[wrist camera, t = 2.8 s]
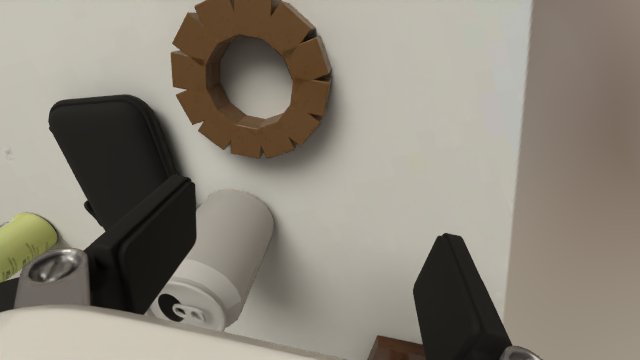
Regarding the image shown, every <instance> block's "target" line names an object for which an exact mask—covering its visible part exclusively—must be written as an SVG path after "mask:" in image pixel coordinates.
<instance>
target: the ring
mask: <svg viewBox="0 0 640 360" xmlns="http://www.w3.org/2000/svg"><path fill="white" fill-rule="evenodd" d="M195 10H196V12H197V13H187V15H186V17H185V19H184V21H183V23H182V25H181V27H180V29H179V31H178V33H177V35H176V37H175V39H174V41H173V43H172V44H173V45H175V46H176V47H177V48H178V49H180V50H179V51H174V52H171V64H172V79H173V87H176V88H181V89H186V91H184V92H181V93H179V94H176V97H177V98H178V100H179V102H180V104H181V105H182V107H183V109H184V111H185V112H186V114H187V116H188V118H189V120H190V121H191V123H192V125H194V124H196V123H199V122H202V121H204V122H203V124H202V125H201V127H200V128H199V130H198V131H199V132H200V133H201V134H203V135H204V136H205V137H207V138H208V139H209V140H211V141H212V142H213V143H215V144H216V145H217V146H219V147H220V148H222V149H223V150H224V149H225V148H226V147H228V146H229V145H230V144H231V153H233V154H238V155H243V156H248V157H253V158H258V159H260V158H261V156H262V155H263V154H264V153H265V155H266V157H267V158H271V157H274V156H277V155H281V154H284V153H287V152H290V151H293V150H295V148H296V145H297V144H298V145H300V146H301V145H302V144H303V143H304V142H305V141H306V140H307V138H308V137H309V136H310V135H311V134H312V133H313V132H314V130H315V129H316V128H317V127H318V126H319V125H320V122H321V120H322V117H323V116H324V114H325V111H326V108H327V104H328V98H329V93H330V87H331V82H332V77H330V76H325V75H328V74H329V72H330V71H331V65H330V62H329V59H328V56H327V53H326V50H325V47H324V44H323V41H322V38H321V36H317V37H315V38H312V39H310V40H307V39H308V38H309V37H310V35H311V34H312V33H313V31H314V30H315V27H314V26H313V25H312V24H311V23H310V22H309V21H308V20H307V19H306V18H305V17H304V16H303V15H302V14H300V13H299V12H298V11H297V10H296V9H295V8H294V7H293V6H292V5H291V4H290V3H286V2H282V1H281V0H206V1H204V2H202V3H200V4H198V5H195ZM243 36H248V37H253V38H258V39H263V40H265V41H266V42H267V43H268V44H269V45H270V46H271V47H273V48H274V49H275V50H276V51H277V52H278V53H280V54H281V55H282V56H283V57H284V59H285V62H286V64H287V67H288V69H289V72H290V74H291V77H292V80H293V88H292V96H291V104H290V106H289V107H288V108H287V110H286V111H285V112H284V113H282V114H280V115H277V116H274V117H271V118H268V119H262V118H257V117H252V116H247V115H245V114H244V113H243V112H242V111H240V110H239V109H238V108H237V107H235V106H234V105H233V104H231V103H230V102H229V100H228V98H227V96H226V94H225V92H224V90H223V88H222V86H221V84H220V59H221V58H222V56H223V54H224V53H225V51H226V49H227V48H228V46H229V44H230V43H231V42H232V41H234V40H236V39H239V38H241V37H243Z"/></svg>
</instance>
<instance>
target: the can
mask: <svg viewBox="0 0 640 360" xmlns="http://www.w3.org/2000/svg"><path fill="white" fill-rule="evenodd" d="M273 227H274V222H273V218H272V215H271V212H270V211H269V210H268V208H267V207H266V206H265V204H264V203H263V202H262V201H260V200H259V199H258V198H257V197H255V196H254V195H252V194H249V193H247V192H245V191H242V190H236V189H224V190H219V191H217V192H215V193H213V194H211V195H209V196H208V198H207V199H206V200H205V201H204V202H203V203H202V205H201V206H200V207H199V208H198V209H197V211H196V228H197V239H196V242H195V245H194V246H193V248H192V249H191V251H190V252H189V253H188V255H187V256H186V257H185V259H184V260H183V262H182V263H181V264H180V266H179V267H178V268H177V270H176V271H175V273H174V274H173V275H172V277H171V278H170V280H169V281H168V282H167V284H166V285H165V286H164V288H163V289H162V291H161V292H160V293H159V295H158V296H157V298H156V299H155V300H154V302H153V303H152V304H151V306H150V307H149V309H148V310H147V311H146V313H145V314H144V315H146V316H151V317H156V318H161V319H165V320H170V321H175V322H179V323H184V324H188V325H193V326H198V327H202V328H207V329H211V330H216V331H220V332H223V331H224V329H225V328H226V327H228V326H230V325H231V324H232V323H234V322H235V321H236V320H237V319H238V317H239V315H240V313H241V311H242V309H243V307H244V304H245V301H246V299H247V296H248V294H249V291H250V289H251V286H252V284H253V281H254V279H255V276H256V274H257V271H258V269H259V266H260V264H261V261H262V259H263V256H264V254H265V251H266V249H267V246H268V244H269V241H270V239H271V236H272V234H273Z"/></svg>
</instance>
